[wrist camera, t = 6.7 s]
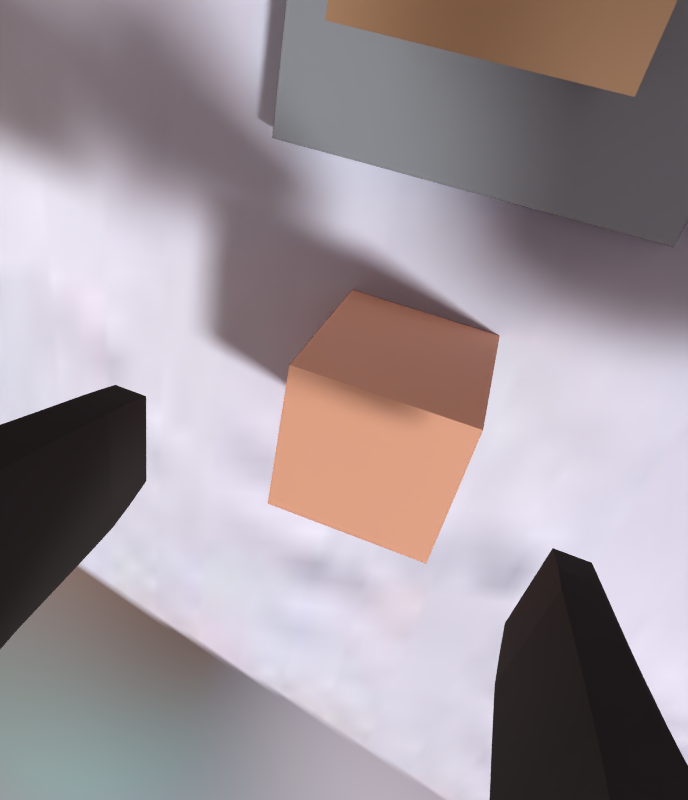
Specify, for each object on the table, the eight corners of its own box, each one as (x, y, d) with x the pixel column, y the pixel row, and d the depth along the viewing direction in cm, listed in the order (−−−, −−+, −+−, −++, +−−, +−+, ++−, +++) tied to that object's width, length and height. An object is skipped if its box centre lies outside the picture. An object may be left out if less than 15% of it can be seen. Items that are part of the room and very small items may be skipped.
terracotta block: (499, 334, 16) (483, 429, 12) (453, 452, 18) (426, 563, 14) (352, 289, 17) (289, 364, 13) (327, 408, 19) (267, 503, 15)
